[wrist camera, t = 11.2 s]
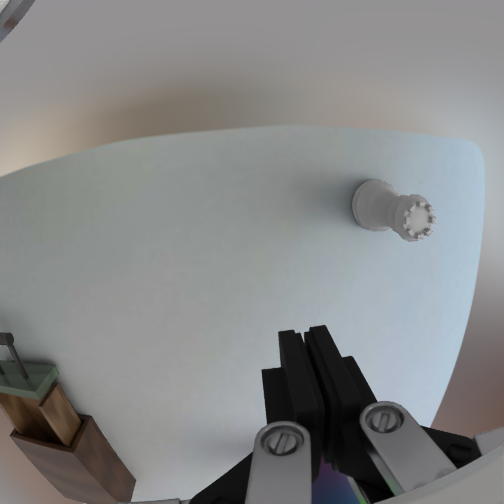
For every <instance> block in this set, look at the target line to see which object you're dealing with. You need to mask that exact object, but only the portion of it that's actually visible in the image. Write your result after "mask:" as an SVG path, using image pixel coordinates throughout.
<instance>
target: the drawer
mask: <svg viewBox="0 0 504 504" xmlns="http://www.w3.org/2000/svg"><path fill="white" fill-rule="evenodd" d="M13 342H14V338H13V335H12V334H11V333H3V332H0V345H7V346H8V349H9V351H10V353H11V355H12V357H13V359H14V361H15V362H11V361H2V360H0V407H1V409H2V410H3V412H4V413H5V415H6V416H7V418H8V419H9V420H10V422H11V423H12V425H13V426H14V428H15V429H16V430H17V432H18V433H19V434H20V435H21V436H25V437H28V438H31V439H35V440H39V441H42V442H46V443H50V444H54V445H59V446H63V447H68V448H71V447H72V445H73V443H74V441H75V439H76V437H77V435H78V433H79V431H80V429H81V427H82V425H83V424H82V422H81V420H80V419H79V417H78V416H77V414H76V412H75V411H74V409H73V407H72V406H71V404H70V402H69V401H68V399H67V397H66V395H65V394H64V392H63V390H62V388H61V386H60V385H59V383H53V381H54V380H55V378H56V377H57V376H58V374H59V371H58V369H57V367H56V365H43V364H31V363H22V362H21V360H20V358H19V356H18V354H17V352H16V350H15V348H14V346H13Z"/></svg>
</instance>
